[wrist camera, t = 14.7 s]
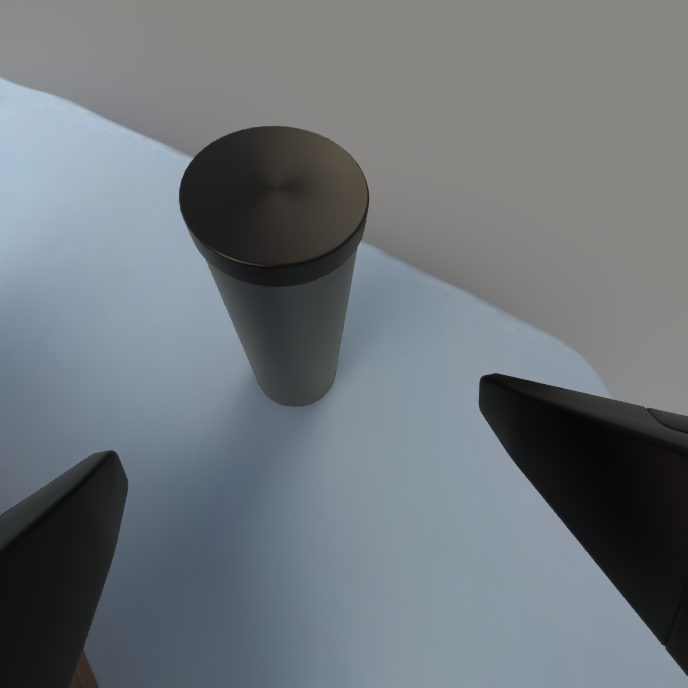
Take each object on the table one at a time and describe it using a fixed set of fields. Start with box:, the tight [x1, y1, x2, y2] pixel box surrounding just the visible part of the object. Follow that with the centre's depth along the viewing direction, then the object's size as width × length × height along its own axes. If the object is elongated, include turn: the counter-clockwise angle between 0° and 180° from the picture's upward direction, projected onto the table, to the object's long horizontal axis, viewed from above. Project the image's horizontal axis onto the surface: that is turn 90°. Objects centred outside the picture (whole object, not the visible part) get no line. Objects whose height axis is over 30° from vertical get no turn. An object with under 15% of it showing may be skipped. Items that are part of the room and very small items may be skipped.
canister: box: [179, 126, 369, 406], centre depth 15 cm, size 5×5×13 cm
